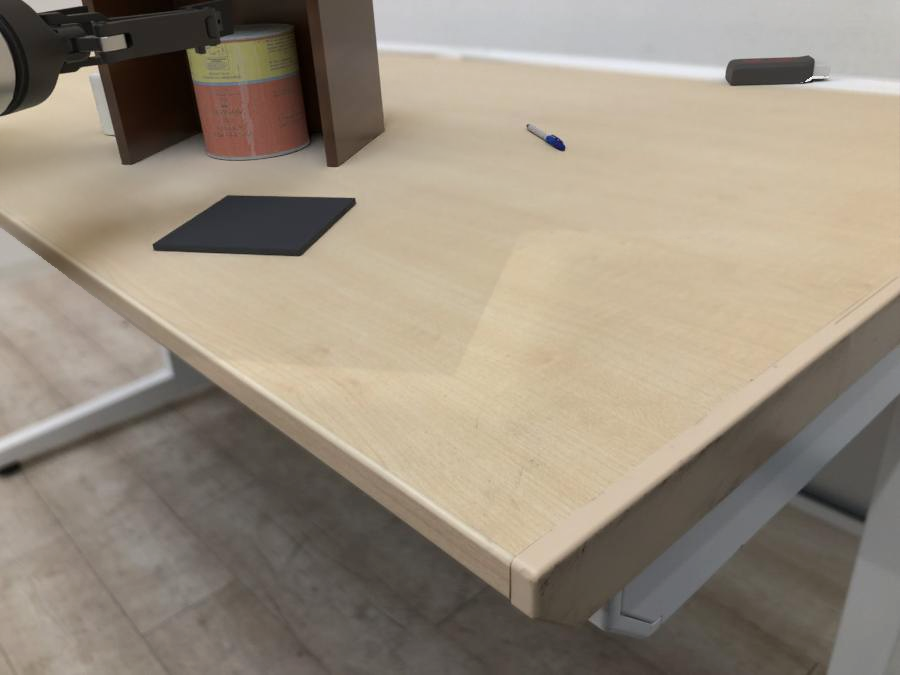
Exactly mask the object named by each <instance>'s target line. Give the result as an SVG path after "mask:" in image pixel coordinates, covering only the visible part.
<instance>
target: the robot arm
mask: <svg viewBox="0 0 900 675" xmlns="http://www.w3.org/2000/svg"><path fill="white" fill-rule="evenodd" d="M91 22H92V23H91ZM92 24H93V27H92ZM93 29H94V31H93ZM94 33H95V35H94ZM231 34H234V30H233V24H232V18H231V12H230V6H229V1H228V0H215V1H210V2H205V3H199V4H194V5H189V6H184V7H179V11H169V12H160V13H151V14H142V15H133V16H124V17H115V18H107V17H106V16H105V15H104V14H102V13H97V12H90V13H89V11H88V7H87V6H83V5H78V6H72V7H66V8H60V9H54V10H46V11H41V12H37V11H36V10H34V8H33V7H31V5H29V4H28V3H27V2H26V1H24V0H0V117H1V118H2V117H5V116H9V115H11V114H15V113H18V112H21V111H25V110H28V109H31V108H34V107H37V106H39V105H41V104H43V103H44V102H45V101H47V99H49V97H50V96H51V95H52V94H53V92H54V90H55V88H56V86H57V83H58V80H59V76H60V75H63V74H64V75H65V74H71V73H76V72H78V71H79V70H80V69H82V68H86V67H87V68H88V67H94V66H98V65H102V64H108V65H114V64H115V63H117V62H121V61H125V60H129V59H133V58H139V57H144V56H150V55H156V54H162V53H168V52H174V51H180V50H186V49H192V48H195V53H197V54H206V49H205V46H217V45H219V44H220V43H221V40H220V37H224V36H227V35H231ZM94 52H99V54H98V55H97V56H95V55H93V56H91V54H92V53H94Z"/></svg>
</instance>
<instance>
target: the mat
mask: <svg viewBox="0 0 900 675" xmlns="http://www.w3.org/2000/svg"><path fill="white" fill-rule="evenodd" d="M356 204H357V200H356V197H341V196H340V197H339V196H338V197H336V196H335V197H333V196H332V197H331V196H291V195H287V196H286V195H283V196H282V195H243V194H242V195H239V194H227V195H226V196H224V197H223V198H221V199H220V200H218V201H216V202H215V203H213V204H212V205H210V206H209V207H207V208H206V209H204V210H202V211H201V212H199V213H198V214H196V215H195V216H193V217H192V218H190V219H189V220H187V221H185V222H184V223H183V224H181V225H179V226H178V227H177V228H175V229H173V230H172V231H170V232H168V233H167V234H166V235H164V236H163V237H161V238H159V239H157V241H155V242H153V243H152V245H151V246H152V248H153V250H154V251H169V252H170V251H171V252H196V253H221V254H245V255H246V254H247V255H271V256H273V255H276V256H298V257H300V256H301V255H303V254H304V253H305V252H306V251H307V250H308V249H309V248H310V247H311V246H312V245H313V244H315V242H316V241H317V240H318V239H319V238H321V237H322V236H323V235H324V234H325V233H326V232H327V231H328V230H329V229H331V227H332V226H333V225H335V224H336V223H337V222H338V221H339V220H340V219H341V218H342V217H343V216H344V215H345V214H346V213H347V212H349V211H350V209H352V208H353V207H354V206H355V205H356Z"/></svg>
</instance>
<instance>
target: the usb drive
mask: <svg viewBox="0 0 900 675" xmlns="http://www.w3.org/2000/svg"><path fill="white" fill-rule="evenodd" d="M831 67H832V65H831V63H829V62H828V61H826V60H815V58H813V57H812V56H811V55H802V56H790V57H789V56H787V57H786V56H785V57H759V58H757V57H755V58H753V57H752V58H735V59H731V60H729V62H728V63H727V66H726V68H725V75H724V78H725V79H726V81H727V82H728V83H729V84H730V85H731V86H755V85H756V86H757V85H791V84H794V83H797V84H801V83H800V82H805V81H806V80H807V79H809V78H810V77H812V76H824V77H826V76H829V77H830V74H831Z"/></svg>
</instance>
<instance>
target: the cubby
mask: <svg viewBox="0 0 900 675" xmlns="http://www.w3.org/2000/svg"><path fill="white" fill-rule="evenodd" d="M80 1H81V4H82V5H81V6H87V7H88V11H89V13H90V12H97V13H102V14H104V15H105V16H106V17H107V18H115V17H124V16H133V15H142V14H151V13H160V12H169V11H179V7H184V6H189V5H194V4H199V3H205V2H210V1H215V0H80ZM228 1H229V6H230V12H231V18H232V24H233V26H236V25H249V24H290V25H293V26H294V27H295V29H294V34H295V41H296V48H297V56H298V63H299V70H300V77H301V84H302V92H303V99H304V106H305V113H306V120H307V128H308V133H322V138H323V145H324V152H325V159H326V166H327V167H339V166H341V165H342V164H343V163H345V162H346V161H347V160H349V159H350V158H352V156H353V155H355V154H356V153H357V152H359V151H360V150H361V149H363V148H364V147H365V146H366V145H368V144H369V143H370V142H372V141H373V140H375V138H377V137H378V136H379V135H381V134H382V133H383V132H384V131H386V129H385V128H386V126H385V116H384V108H383V107H384V106H383V96H382V95H383V94H382V86H381V76H380V75H381V74H380V65H379V53H378V52H379V51H378V43H377V31H376V22H375V11H374V10H375V9H374V1H373V0H228ZM91 23H92V22H91ZM92 27H93V24H92ZM93 31H94V29H93ZM94 35H95V33H94ZM93 53H94V56H97V55H98V54H99V52H93ZM97 69H98V72H99V73H100V77H101V81H102V85H103V89H104V93H105V97H106V101H107V105H108V109H109V113H110V117H111V121H112V125H113V129H114V133H115V135H114V137H115V142H116V145H117V149H118V153H119V157H120V161H121V162H120V163H121V165H133V164H135V163H137V162H139V161H142V160H144V159H146V158H148V157H150V156H152V155H154V154H157V153H159V152H160V151H162V150H164V149H167V148H169V147H171V146H174V145H175V144H177V143H179V142H182V141H183V140H185V139H188V138H190V137H191V136H194V135H196V134H198V133H203V130H202V125H201V120H200V115H199V110H198V105H197V100H196V95H195V90H194V85H193V80H192V75H191V70H190V65H189V60H188V55H187V50H180V51H174V52H168V53H162V54H156V55H150V56H144V57H139V58H133V59H129V60H125V61H121V62H117V63H115V64H114V65H108V64H102V65H97Z"/></svg>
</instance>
